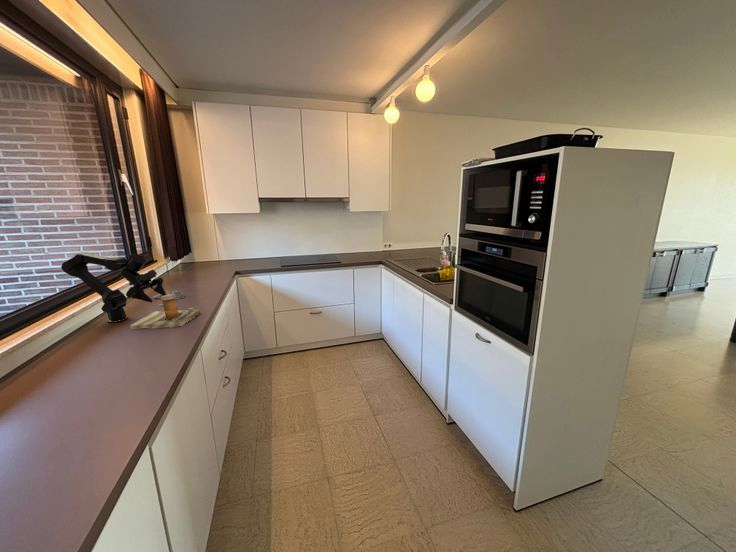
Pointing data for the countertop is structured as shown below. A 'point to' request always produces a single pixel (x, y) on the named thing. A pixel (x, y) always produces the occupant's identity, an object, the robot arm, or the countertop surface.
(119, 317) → the robot arm
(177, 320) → the cross bar
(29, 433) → the countertop surface
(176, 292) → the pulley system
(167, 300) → the cord reel
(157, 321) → the rectangular frame
